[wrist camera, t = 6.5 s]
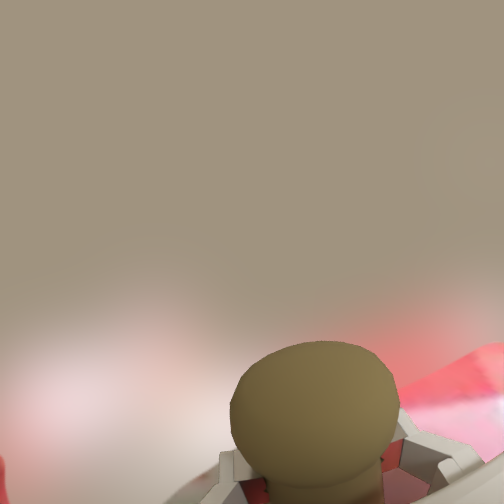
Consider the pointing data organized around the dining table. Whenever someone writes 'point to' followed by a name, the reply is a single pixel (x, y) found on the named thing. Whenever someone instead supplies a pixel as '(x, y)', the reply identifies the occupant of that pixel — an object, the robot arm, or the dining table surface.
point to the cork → (317, 423)
